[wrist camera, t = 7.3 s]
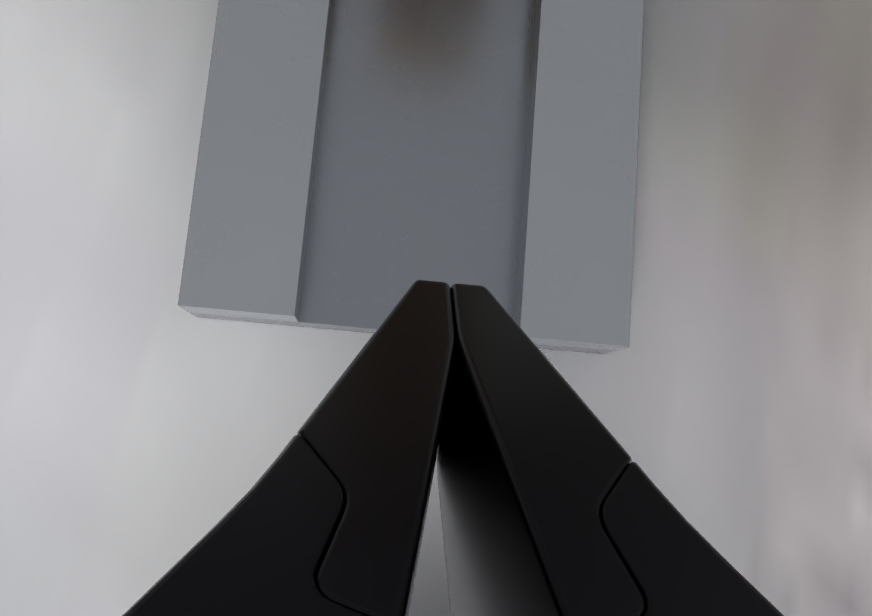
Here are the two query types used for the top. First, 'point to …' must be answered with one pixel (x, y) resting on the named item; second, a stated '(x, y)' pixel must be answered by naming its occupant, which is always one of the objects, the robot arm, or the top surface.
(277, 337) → the top surface
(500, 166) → the slot bed
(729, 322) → the top surface
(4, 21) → the top surface
